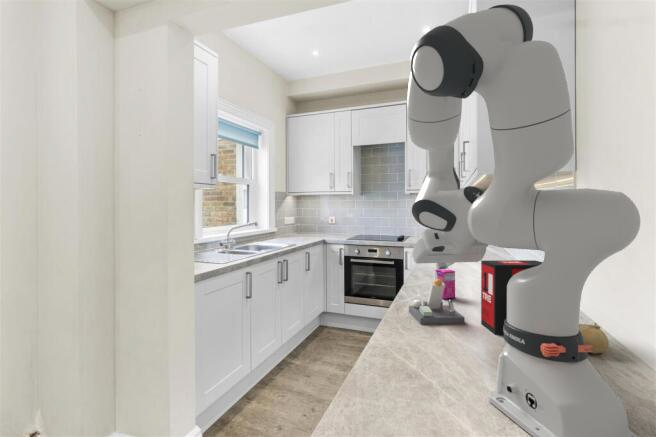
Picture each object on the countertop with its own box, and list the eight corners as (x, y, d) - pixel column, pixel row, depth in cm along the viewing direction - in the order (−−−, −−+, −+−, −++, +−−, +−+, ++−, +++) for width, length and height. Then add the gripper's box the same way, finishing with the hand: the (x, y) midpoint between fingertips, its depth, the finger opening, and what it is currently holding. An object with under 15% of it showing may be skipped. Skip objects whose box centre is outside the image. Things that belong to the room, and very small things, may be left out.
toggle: (455, 313, 103) (453, 299, 105) (450, 313, 103) (448, 299, 105) (454, 313, 104) (452, 300, 106) (449, 313, 104) (446, 300, 106)
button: (422, 307, 110) (422, 301, 110) (414, 307, 110) (414, 302, 110) (420, 305, 113) (420, 299, 113) (412, 305, 113) (412, 299, 113)
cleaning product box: (534, 324, 100) (535, 260, 99) (554, 335, 91) (554, 265, 91) (481, 324, 100) (481, 260, 100) (495, 334, 91) (495, 265, 91)
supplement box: (434, 296, 133) (434, 269, 133) (446, 295, 135) (446, 268, 135) (443, 300, 128) (443, 271, 128) (455, 298, 129) (455, 270, 129)
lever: (439, 310, 108) (446, 282, 102) (427, 311, 108) (434, 282, 102) (437, 305, 110) (443, 277, 104) (425, 306, 110) (431, 277, 104)
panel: (464, 323, 101) (464, 308, 101) (420, 324, 100) (420, 309, 100) (447, 310, 114) (447, 297, 114) (408, 311, 113) (408, 298, 113)
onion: (590, 359, 76) (590, 329, 76) (559, 345, 84) (559, 318, 84) (617, 355, 78) (617, 326, 78) (584, 343, 86) (585, 316, 85)
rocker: (432, 315, 101) (432, 311, 101) (423, 316, 101) (423, 312, 101) (427, 310, 105) (428, 306, 105) (419, 310, 105) (419, 306, 105)
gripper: (487, 229, 91) (470, 258, 101) (417, 230, 89) (406, 259, 99) (497, 246, 86) (477, 275, 96) (423, 248, 85) (411, 277, 95)
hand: (441, 267), depth 98 cm, fingers closed
